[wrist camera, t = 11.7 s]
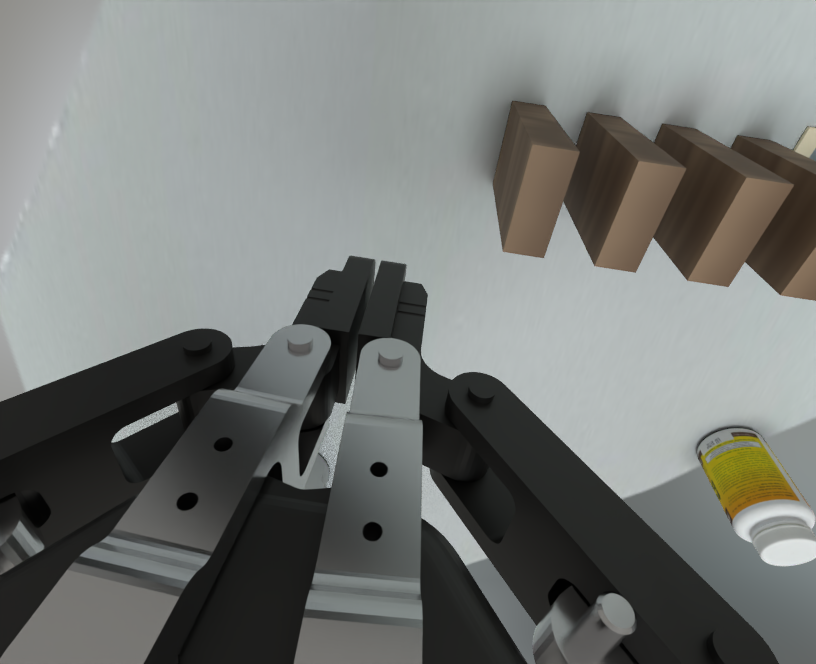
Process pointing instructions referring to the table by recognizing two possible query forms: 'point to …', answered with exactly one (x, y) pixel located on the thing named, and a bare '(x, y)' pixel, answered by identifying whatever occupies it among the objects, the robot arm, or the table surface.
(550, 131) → the domino
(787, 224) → the domino
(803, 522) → the supplement bottle
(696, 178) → the domino
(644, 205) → the domino
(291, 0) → the table surface
